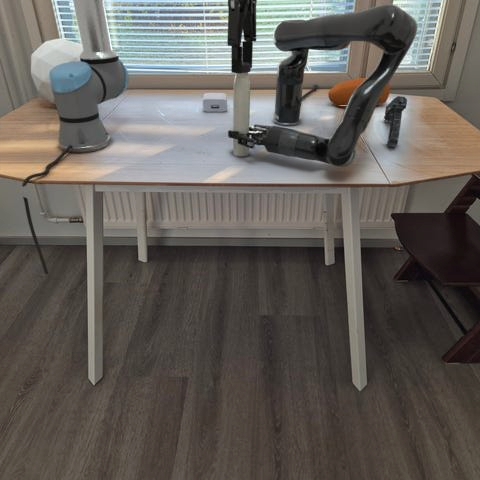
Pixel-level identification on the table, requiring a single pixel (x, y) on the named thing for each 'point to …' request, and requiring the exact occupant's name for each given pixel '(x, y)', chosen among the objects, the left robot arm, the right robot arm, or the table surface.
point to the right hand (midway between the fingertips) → (233, 130)
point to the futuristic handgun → (395, 118)
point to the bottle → (241, 110)
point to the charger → (215, 102)
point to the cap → (246, 67)
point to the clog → (351, 92)
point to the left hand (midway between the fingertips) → (242, 69)
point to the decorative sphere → (52, 62)
